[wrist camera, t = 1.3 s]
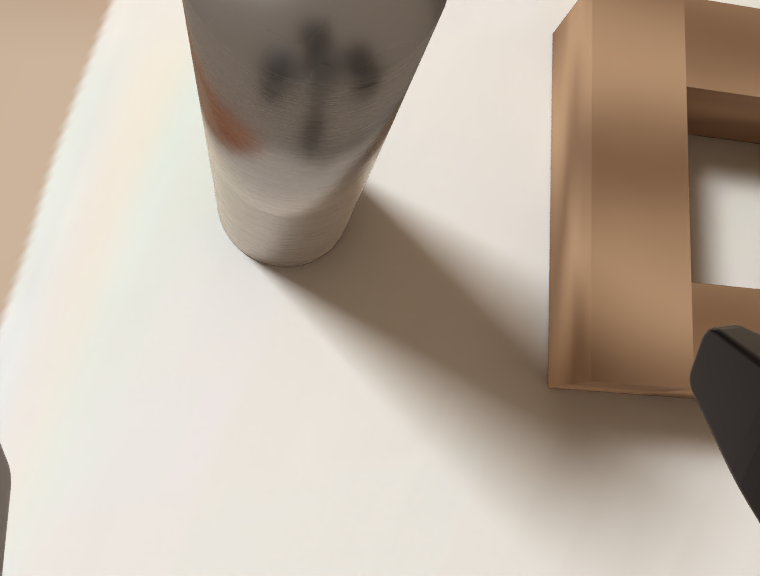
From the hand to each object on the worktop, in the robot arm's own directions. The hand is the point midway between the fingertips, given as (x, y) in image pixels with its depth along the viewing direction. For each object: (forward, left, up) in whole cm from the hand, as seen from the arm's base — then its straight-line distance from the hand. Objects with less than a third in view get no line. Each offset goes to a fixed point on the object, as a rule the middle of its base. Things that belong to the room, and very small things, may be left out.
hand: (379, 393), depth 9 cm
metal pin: (+6, +1, -12) cm, 14 cm away
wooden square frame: (+7, -13, -12) cm, 20 cm away
